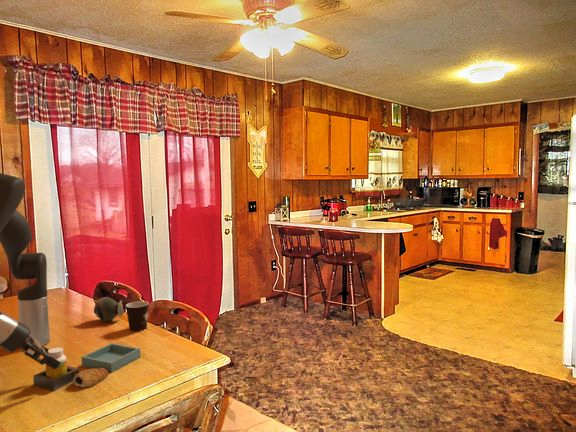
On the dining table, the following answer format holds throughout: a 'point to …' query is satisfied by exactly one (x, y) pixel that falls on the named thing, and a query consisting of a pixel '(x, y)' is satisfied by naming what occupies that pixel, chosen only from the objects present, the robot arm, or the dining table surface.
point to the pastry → (90, 377)
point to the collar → (56, 383)
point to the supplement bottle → (62, 368)
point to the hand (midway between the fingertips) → (55, 361)
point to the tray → (111, 357)
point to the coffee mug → (137, 315)
